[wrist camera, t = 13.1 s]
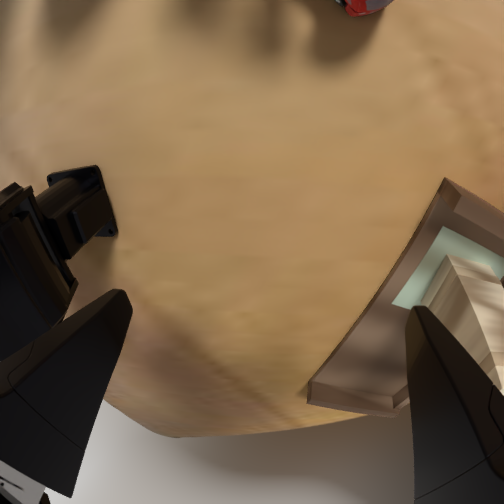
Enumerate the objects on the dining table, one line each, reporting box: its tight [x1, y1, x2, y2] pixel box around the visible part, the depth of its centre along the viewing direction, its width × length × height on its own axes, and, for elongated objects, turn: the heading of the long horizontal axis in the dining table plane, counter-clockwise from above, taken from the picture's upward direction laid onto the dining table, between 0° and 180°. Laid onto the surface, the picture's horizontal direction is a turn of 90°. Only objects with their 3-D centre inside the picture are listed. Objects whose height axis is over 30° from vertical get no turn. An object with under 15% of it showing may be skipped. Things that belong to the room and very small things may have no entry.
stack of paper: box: [420, 254, 504, 395], centre depth 16 cm, size 5×5×12 cm
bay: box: [307, 178, 504, 418], centre depth 24 cm, size 26×12×3 cm, turn 165°
